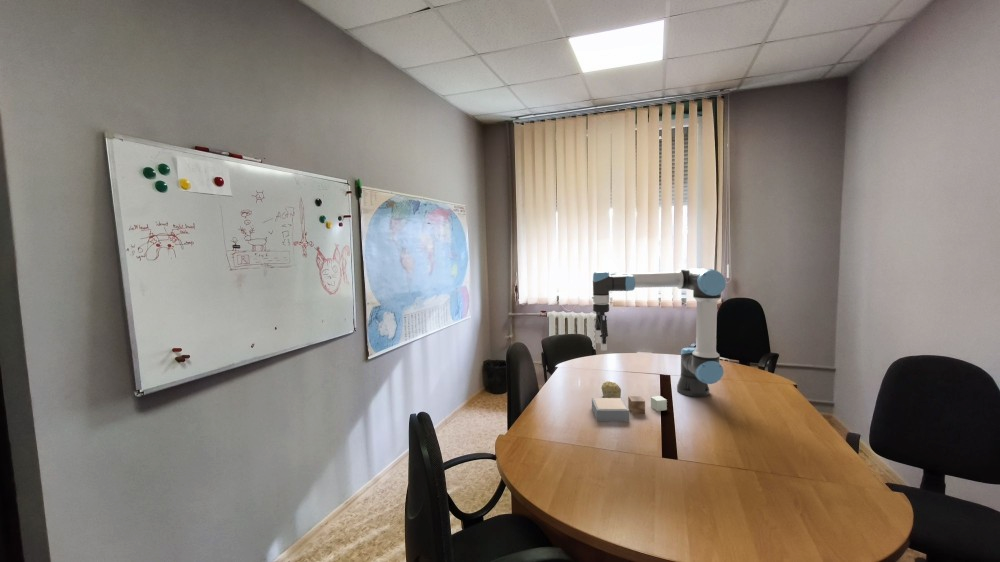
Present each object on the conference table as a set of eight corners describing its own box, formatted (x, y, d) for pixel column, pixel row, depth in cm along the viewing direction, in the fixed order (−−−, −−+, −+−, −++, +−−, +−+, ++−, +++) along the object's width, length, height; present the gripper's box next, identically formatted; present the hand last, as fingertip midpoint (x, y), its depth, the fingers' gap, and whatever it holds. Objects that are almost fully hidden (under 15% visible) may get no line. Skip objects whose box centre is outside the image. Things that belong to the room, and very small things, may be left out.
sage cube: (660, 405, 185) (660, 395, 185) (666, 410, 180) (666, 399, 180) (650, 407, 184) (650, 396, 184) (656, 411, 180) (657, 400, 179)
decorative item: (620, 403, 199) (617, 384, 204) (624, 398, 191) (621, 378, 196) (601, 403, 200) (599, 384, 205) (604, 398, 191) (601, 378, 197)
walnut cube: (641, 408, 183) (641, 396, 183) (645, 414, 177) (645, 401, 177) (628, 408, 184) (628, 396, 183) (631, 413, 178) (631, 401, 177)
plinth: (621, 408, 184) (621, 397, 183) (629, 421, 170) (629, 409, 169) (591, 408, 185) (591, 397, 184) (596, 421, 171) (596, 409, 171)
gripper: (589, 300, 200) (589, 340, 202) (597, 307, 176) (597, 353, 177) (604, 299, 200) (604, 340, 202) (614, 307, 175) (614, 353, 177)
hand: (601, 346), depth 190 cm, fingers open, 13 cm apart
